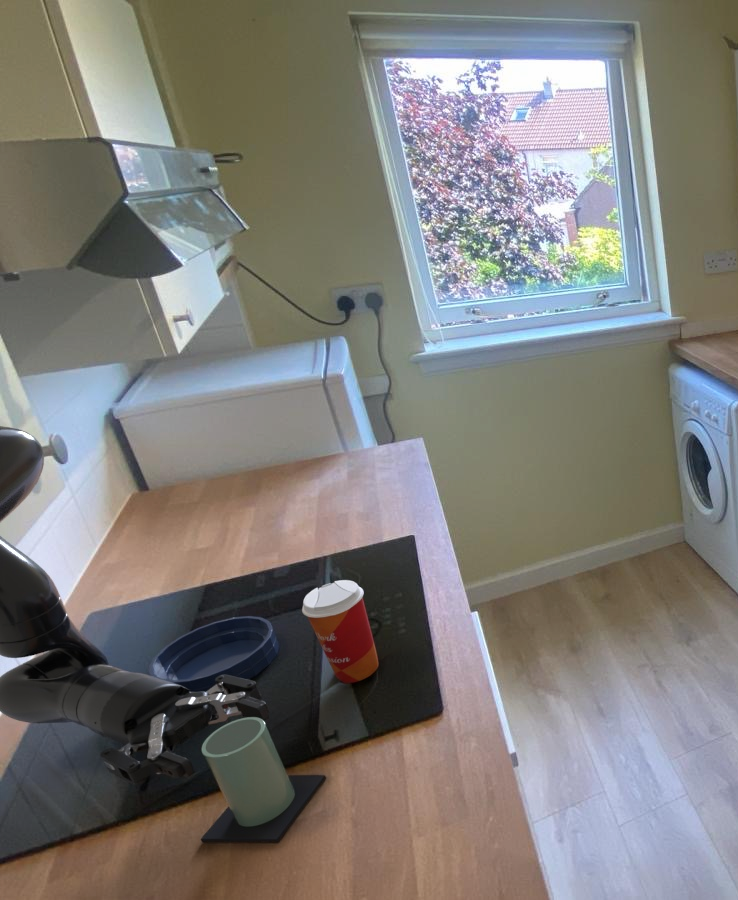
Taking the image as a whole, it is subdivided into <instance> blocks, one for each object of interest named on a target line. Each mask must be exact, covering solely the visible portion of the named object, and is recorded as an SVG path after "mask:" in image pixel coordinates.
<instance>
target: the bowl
mask: <svg viewBox="0 0 738 900" xmlns="http://www.w3.org/2000/svg"><path fill="white" fill-rule="evenodd" d="M279 649H280V643H279V640H278V638H277V635H276V633H275V630H274V628H273V626H272V623H271V621H269V620H267V619H265V618H263V617H261V616H254V615H253V616H252V615H246V616H245V615H244V616H236V617H229V618H226V619H225V618H224V619H221V620H217V621H213V622H211V623H208V624H205V625H202V626H200V627H197V628H195V629H193V630H191V631H189V632H186V633H185V634H183V635H181V636H179V637H177V638H175V639H174V640H173V641H172V642H170V643H168V644H167V645H166V646H164V647H163V648H162V649H161V650H160V651H159V652H158V653H157V654H156V655H154V657H153V658H152V661H151V662H150V663H149V666H148V673H149V674H148V675H150V676H153V677H156V678H159V679H162V680H165V681H169V682H172V683H175V684H178V685H181V686H183V687H185V688H187V689H189V690H191V691H192V692H200V691H205V692H206V691H208V690H209V689H211V688H212V687H213V686H215V685H216V684H217V683H216V681H215V679H216V678H217V677H218V676H220V675H223V674H225V675H230V676H234V677H239V678H243V679H248V680H251V679H252V678H254V677H256V676H257V675H258V674H259V673H261V672H262V671H264V669H266V668H267V667H268V666H269V665H271V663H272V662H273V661H274V659H275V658H276V657H277V656H278V653H279Z"/></svg>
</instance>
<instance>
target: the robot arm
mask: <svg viewBox="0 0 738 900" xmlns="http://www.w3.org/2000/svg"><path fill="white" fill-rule="evenodd" d="M42 446H43V445H41V443H40V441H39V440H38V439H37V438H36V437H35V436H34V435H32V434H30V433H29V432H27V431H25V430H22V429H19V428H14V427H9V426H3V425H2V426H1V425H0V523H2V522H3V521H4V520H5V519H6V518H7V517H8V516H10V515H11V514H12V513H13V512H15V510H16V509H17V508H18V507H19V506H20V505H21V504H22V503H23V502H24V501H25V500H26V499H27V498H28V496H30V494H31V493H32V491H33V490H34V489H35V487H36V485H37V484H38V482H39V480H40V478H41V476H42V473H43V470H44V465H45V453H44V450H43V447H42ZM36 655H37V656H36ZM0 656H2V657H4V658H9V659H21V658H28V657H32V656H34V657H33V658H31V659H29V660H26V661H24V662H23V663H21V664H19V665H16V667H14V668H11V669H10V670H8V671H6V672H5V673H3V674H2V675H0V713H1V714H2V715H4V716H6V717H8V718H10V719H13V720H15V721H19V722H22V723H29V724H66V723H74V724H77V725H79V726H81V727H84V728H88V729H89V730H90V731H91V732H93V733H95V734H97V735H99V737H102V738H105V739H106V738H107V739H110V740H113V741H115V742H118V743H121V744H123V746H122V747H120V748H119V749H116V748H113V747H110V748H106V749H105V750H103V751H101V752H100V754H99V757H100V758H101V760H102V761H103V763H104V765H105V767H106V769H107V770H108V772H109V773H111V774H113V775H115V776H116V777H118V778H120V779H122V780H124V781H126V782H128V783H130V784H131V785H134V786H141V785H143V784H144V783H146V782H147V781H148V780H149V777H151V776H152V775H155V774H156V775H165V776H168V777H170V778H172V779H181V778H182V777H184V778H190V777H191V776H193V775H194V774H195V773H196V770H195V768H194V766H193V765H192V762H191V761H190V760H189V759H188V758H186V757H184V756H181V755H178V754H176V753H175V750H176V746H177V745H179V744H181V745H182V744H184V743H185V742H187V741H188V740H190V739H191V737H192V736H193V735H194V734H195V735H196V733H199V732H200V731H202V730H203V729H205V728H206V727H208V726H209V725H214V724H215V725H216V724H219V723H223V722H226V721H228V720H229V718H231V717H235V716H240V715H242V717H244V718H247V717H257V718H260V719H262V720H263V721H264V722H266V720H268V719H270V716H269V713H270V710H269V708H268V707H267V703H266V702H265V700H262V698H263V696H262V693H260V690H259V687H258V684H257V682H256V680H251V679H249V680H248V679H243V678H239V677H234V676H230V675H225V674H223V675H220V676H218V677H217V678H216V679H215V681H216V683H217V684H216V685H215V686H213V687H212V688H211V689H209V690H208V691H206V692H205V691H200V692H192V691H191V690H189V689H187V688H185V687H183V686H181V685H178V684H175V683H172V682H169V681H165V680H162V679H159V678H156V677H153V676H150V674H145V673H143V672H133V671H129V670H126V669H123V668H120V667H117V666H113V665H111V664H109V663H110V662H109V660H108V658H107V656H106V655H105V654H104V653H103V652H102V651H101V650H100V649H99V648H98V647H97V646H96V645H94V644H93V643H92V642H91V641H90V640H89V639H88V638H87V637H86V636H85V635H83V633H82V632H81V631H80V630H79V628H78V627H77V626H76V625H75V624H74V622H73V621H72V620H71V618H70V616H69V613H68V611H67V609H66V607H65V605H64V602H63V600H62V597H61V594H60V593H59V589H58V588H57V586H56V584H55V582H54V580H53V579H52V578H51V576H50V575H49V574H48V573H47V571H46V570H44V569H43V568H42V567H41V566H40V565H39V564H38V563H36V562H35V561H34V560H33V559H32V558H30V557H29V556H28V555H27V554H25V553H24V552H23V551H21V550H19V549H18V548H17V547H15V546H14V545H13V544H11V543H10V542H9V541H7V540H6V539H5V538H3V537H2V536H1V535H0ZM233 703H234V705H235V706H229V704H233ZM213 707H214V709H215V711H216V713H213ZM146 752H147V756H146V757H147V758H146V759H142V760H141V761H139V760H137V759H136V758H134V754H135V753H146Z"/></svg>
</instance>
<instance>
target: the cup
mask: <svg viewBox="0 0 738 900" xmlns="http://www.w3.org/2000/svg"><path fill="white" fill-rule="evenodd" d="M201 754H202V756H203V758H204V759H205V761H206V764H207V766H208V768H209V769H210V772H211V774H212V776H213V778H214V780H215V782H216V784H217V786H218V788H219V790H220V792H221V793H222V796H223V798H224V801H225V802H226V805H227V807H228V806H229V808H230V810H231V812H232V814H233V816H234V818H235V820H236V822H237V823H238V824H239V825H241V826H245V827H251V826H257V825H261V824H263V823H266V822H268V821H270V820H272V819H274V818H275V817H277V816H278V815H280V814H281V813H282V812H284V811H285V810H286V809H287V808H288V807H289V805H290V804H291V803H292V801H293V799H294V796H295V790H294V788H293V785H292V783H291V781H290V778H289V776H288V775H289V774H288V772H287V770H286V767H285V765H284V763H283V761H282V757H281V756H280V754H279V752H278V749H277V747H276V745H275V742H274V739H273V737H272V736H271V733H270V731H269V729H268V726H267V724H266V721H263V720H262V719H260V718H257V717H243V718H238V719H234V720H232V721H230V722H228V723H226V724H224V725H222V726H221V727H220V726H219V728H217V729H216V730H214V731H213V732H212V733H210V735H208V737H206V739H204V741H203V743H202V744H201Z"/></svg>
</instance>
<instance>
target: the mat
mask: <svg viewBox="0 0 738 900" xmlns="http://www.w3.org/2000/svg"><path fill="white" fill-rule="evenodd" d="M288 776H289V778H290V781H291V783H292V785H293V788H294V790H295V796H294V799H293V801H292V803H291V804H290V805H289V807H288V808H287V809H286V810H285V811H284V812H282V813H281V814H280V815H278V816H277V817H275V818H274V819H272V820H270V821H268V822H266V823H263V824H261V825H257V826H251V827H245V826H241V825H239V824H238V823H237V822H236V820H235V818H234V816H233V814H232V812H231V810H230V808H229V806H228V805H227V808H226V809H225V810H224V811H223V812H222V813H221V814H220V816H219V817H218V818H217V819H216V820H215V822H213V824H212V825H211V826H210V827H209V829H207V831H206V832H205V833H204V834H203V835H202V836H201V838H200V841H201V843H268V844H269V843H270V844H271V843H273V844H274V843H275V844H276V843H277V844H278V843H279V842H280V841H281V840H282V838H284V836H285V834H286V833H287V832H288V830H289V829H290V827H292V825H293V823H294V822H295V821H296V820H297V818H298V817H299V816H300V814H301V813H302V811H304V809H305V807H306V806H307V805H308V804H309V802H310V800H311V799H312V798H313V796H315V794H316V793H317V792H318V790H319V789H320V788H321V786H322V785H323V784H324V782H325V781H326V779H327V776H326V775H325V774H288Z"/></svg>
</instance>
